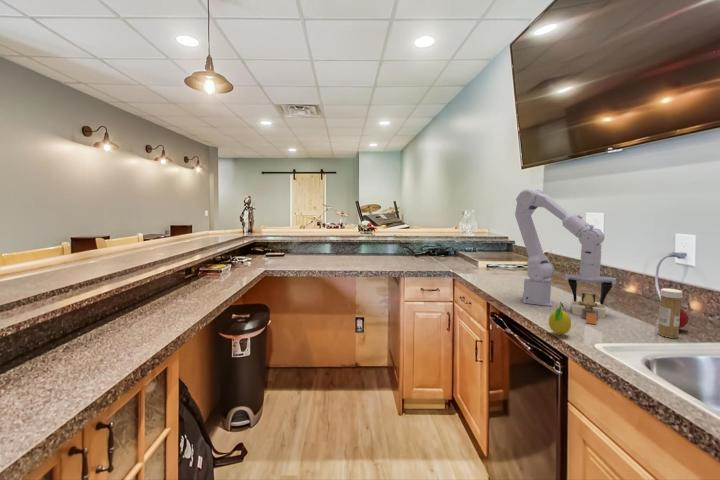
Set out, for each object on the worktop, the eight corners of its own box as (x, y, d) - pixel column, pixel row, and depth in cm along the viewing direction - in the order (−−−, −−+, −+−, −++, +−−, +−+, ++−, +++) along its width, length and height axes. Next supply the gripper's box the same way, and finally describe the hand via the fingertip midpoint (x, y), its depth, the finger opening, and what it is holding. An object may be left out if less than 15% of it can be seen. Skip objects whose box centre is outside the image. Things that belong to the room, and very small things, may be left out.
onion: (690, 334, 95) (692, 307, 95) (663, 330, 98) (665, 304, 98) (684, 328, 100) (686, 302, 100) (659, 324, 103) (661, 299, 103)
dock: (572, 314, 114) (573, 305, 114) (571, 307, 122) (572, 299, 122) (605, 318, 110) (605, 309, 110) (601, 311, 118) (602, 302, 117)
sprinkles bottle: (682, 339, 92) (686, 292, 91) (662, 337, 93) (666, 291, 92) (672, 333, 96) (676, 288, 95) (653, 331, 98) (657, 287, 96)
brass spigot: (580, 313, 115) (581, 293, 115) (580, 310, 119) (581, 291, 118) (594, 315, 113) (595, 295, 112) (594, 312, 116) (595, 292, 116)
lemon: (562, 330, 100) (563, 298, 99) (577, 338, 94) (579, 303, 93) (541, 331, 99) (543, 299, 98) (555, 339, 93) (557, 304, 92)
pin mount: (581, 318, 110) (582, 310, 110) (581, 316, 112) (581, 308, 111) (597, 320, 108) (598, 312, 108) (597, 318, 109) (597, 310, 109)
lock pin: (586, 323, 105) (586, 313, 105) (584, 316, 111) (584, 308, 111) (596, 324, 104) (596, 315, 104) (593, 317, 110) (594, 309, 110)
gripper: (566, 264, 114) (564, 302, 116) (618, 267, 107) (615, 308, 109) (565, 261, 121) (563, 297, 122) (615, 264, 113) (612, 302, 115)
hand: (588, 302), depth 116 cm, fingers open, 7 cm apart
